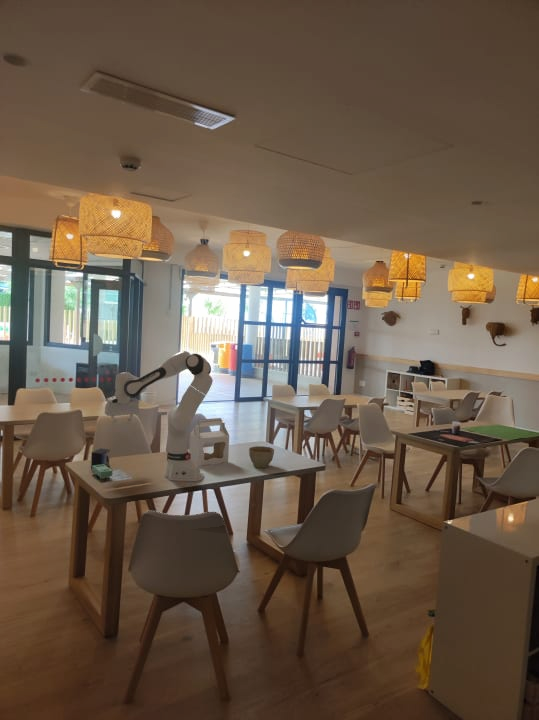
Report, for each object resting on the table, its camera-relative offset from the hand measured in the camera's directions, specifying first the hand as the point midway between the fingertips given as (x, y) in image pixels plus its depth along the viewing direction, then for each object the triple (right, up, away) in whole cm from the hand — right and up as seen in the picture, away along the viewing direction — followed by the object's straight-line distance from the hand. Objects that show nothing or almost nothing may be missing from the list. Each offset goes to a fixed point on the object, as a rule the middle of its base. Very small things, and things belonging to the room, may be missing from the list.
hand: (121, 421), depth 309 cm
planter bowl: (+83, -31, +19) cm, 91 cm away
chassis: (0, -29, -20) cm, 35 cm away
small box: (-12, -27, -2) cm, 30 cm away
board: (-5, -26, -21) cm, 34 cm away
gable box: (+49, -29, +23) cm, 61 cm away
